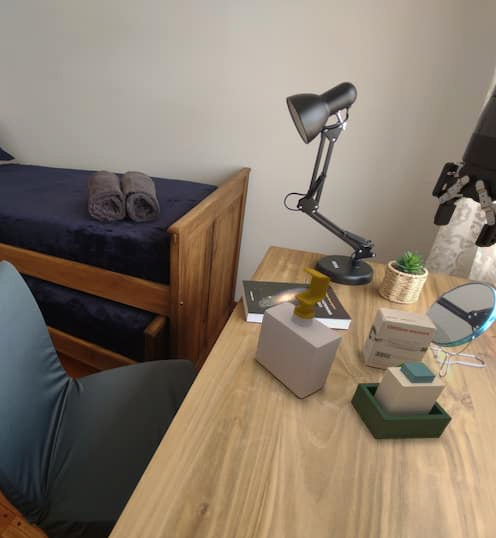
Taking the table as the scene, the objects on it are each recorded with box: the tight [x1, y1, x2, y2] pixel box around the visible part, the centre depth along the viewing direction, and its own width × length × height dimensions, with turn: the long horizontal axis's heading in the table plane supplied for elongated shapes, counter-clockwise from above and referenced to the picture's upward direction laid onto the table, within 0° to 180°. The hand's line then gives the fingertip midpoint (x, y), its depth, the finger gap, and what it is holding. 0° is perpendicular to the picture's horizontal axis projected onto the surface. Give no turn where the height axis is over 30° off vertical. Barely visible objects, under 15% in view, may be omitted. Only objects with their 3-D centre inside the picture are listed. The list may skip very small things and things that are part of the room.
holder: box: [350, 382, 453, 440], centre depth 60 cm, size 11×7×5 cm
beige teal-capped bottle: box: [374, 362, 446, 415], centre depth 58 cm, size 4×6×11 cm, turn 91°
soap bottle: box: [254, 268, 342, 399], centre depth 65 cm, size 12×7×23 cm, turn 27°
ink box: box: [361, 306, 438, 370], centre depth 70 cm, size 9×5×12 cm, turn 70°
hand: (460, 234), depth 59 cm, fingers open, 8 cm apart
